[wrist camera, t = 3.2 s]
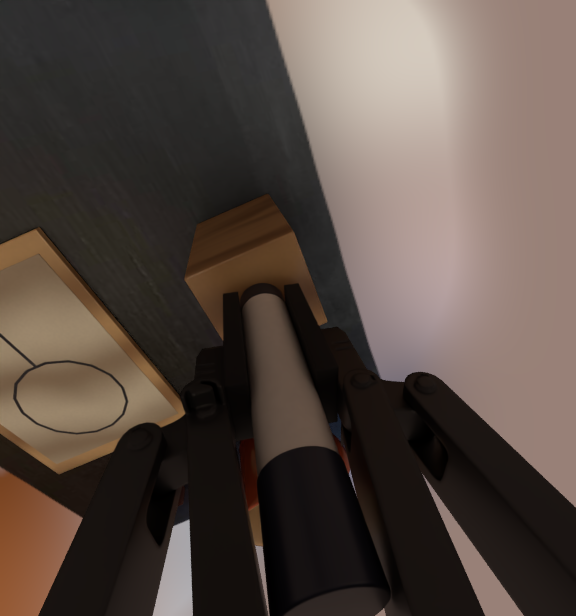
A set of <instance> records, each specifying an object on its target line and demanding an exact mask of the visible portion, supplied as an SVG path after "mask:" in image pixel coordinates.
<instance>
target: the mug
mask: <svg viewBox="0 0 576 616" xmlns="http://www.w3.org/2000/svg"><path fill="white" fill-rule="evenodd" d="M332 435H333V438H334V440H335V443H336V446H337V449H338V451H339V454H340V456H341V457H342V459H343V460H344V463H345V466H346V468H347V471H348V474H349V471H350V466H349V462H348V457H347V453H346V449H345V448H344V446H343V445H342V446H341V441H340V440H339V439H338V438H337V437H336V436H335V435H334V434H333V433H332ZM239 453H240V463H241V474H242V479H243V485H244V490H245V495H246V500H247V506H248V511H249V516H250V521H251V527H252V532H253V537H254V543H255V545H256V546H263V543H262V533H261V523H260V513H259V503H258V493H257V479H258V474H257V465H256V455H255V446H254V438H250V439H245V440H240V447H239Z"/></svg>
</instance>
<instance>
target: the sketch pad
mask: <svg viewBox="0 0 576 616" xmlns="http://www.w3.org/2000/svg"><path fill="white" fill-rule="evenodd" d="M183 415H185V411H184V408H183V405H182V402H181V399H180V395H179V394H178V393H177V392H176V391H175V389H174V388H173V387H172V386H171V385H170V383H169V382H168V381H167V380H166V379H165V377H164V376H163V375H162V374H161V373H160V371H159V370H158V369H157V368H156V367H155V365H154V364H153V363H152V362H151V361H150V359H149V358H148V357H147V356H146V355H145V353H144V352H143V351H142V350H141V349H140V347H139V346H138V345H137V344H136V343H135V341H134V340H133V339H132V338H131V337H130V335H129V334H128V333H127V332H126V331H125V329H124V328H123V327H122V326H121V325H120V323H119V322H118V321H117V320H116V319H115V317H114V316H113V315H112V314H111V313H110V311H109V310H108V309H107V308H106V307H105V305H104V304H103V303H102V302H101V301H100V299H99V298H98V297H97V296H96V295H95V293H94V292H93V291H92V290H91V289H90V287H89V286H88V285H87V284H86V283H85V281H84V280H83V279H82V278H81V277H80V275H79V274H78V273H77V272H76V270H75V269H74V268H73V267H72V266H71V264H70V263H69V262H68V261H67V260H66V258H65V257H64V256H63V255H62V254H61V252H60V251H59V250H58V249H57V248H56V246H55V245H54V244H53V243H52V242H51V240H50V239H49V238H48V237H47V236H46V234H45V233H44V232H43V231H42V230H41V228H40V227H38V228H36V229H33V230H31V231H29V232H27V233H24V234H22V235H20V236H18V237H15V238H13V239H11V240H9V241H6V242H4V243H2V244H0V434H2V435H3V436H5V437H6V438H7V439H9V440H10V441H12V442H13V443H15V444H16V445H18V446H19V447H20V448H22V449H23V450H25V451H26V452H28V453H29V454H31V455H32V456H33V457H35V458H36V459H38V460H39V461H41V462H42V463H43V464H45V465H46V466H48V467H49V468H51V469H52V470H54V471H55V472H56V473H58V474H61V473H63V472H65V471H68V470H70V469H73V468H75V467H77V466H80V465H82V464H85V463H87V462H89V461H92V460H94V459H97V458H99V457H101V456H104V455H106V454H109V453H111V452H113V451H114V450H115V448H116V445H117V443H118V441H119V440H120V438H121V437H122V435H123V434H124V433H126V432H127V431H128V430H129V429H130V428H132V427H134V426H136V425H138V424H142V423H146V422H150V423H155V424H157V425H159V426H160V428H161V427H163V426H166V425H168V424H170V423H172V422H174V421H176V420H178V419H180V418H181V417H182V416H183Z"/></svg>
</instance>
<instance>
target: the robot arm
mask: <svg viewBox="0 0 576 616" xmlns="http://www.w3.org/2000/svg"><path fill="white" fill-rule="evenodd" d="M284 293H285V303H286V306H287V309H288V312H289V315H290V317H291V320H292V323H293V326H294V329H295V331H296V334H297V337H298V340H299V343H300V345H301V348H302V351H303V354H304V357H305V360H306V362H307V365H308V368H309V371H310V374H311V376H312V379H313V382H314V385H315V388H316V390H317V393H318V396H319V398H320V401H321V404H322V407H323V410H324V412H325V415H326V418H327V421H328V423H332V422H337V414H339V417H340V419H341V446H342V445H345V449H346V453H347V457H348V462H349V466H350V470H351V474H352V478H353V482H354V486H355V490H356V494H357V498H358V501H359V504H360V507H361V510H362V512H363V515H364V518H365V521H366V523H367V526H368V529H369V532H370V534H371V537H372V540H373V543H374V545H375V548H376V551H377V554H378V556H379V559H380V562H381V565H382V567H383V570H384V573H385V576H386V578H387V581H388V584H389V587H390V590H391V598H390V601H389V602H388V604H387V605H386V606H385V607H384V609H385V613H386V616H485V615H484V613H483V610H482V608H481V606H480V603H479V601H478V599H477V596H476V594H475V592H474V590H473V588H472V585H471V583H470V581H469V578H468V576H467V574H466V572H465V569H464V567H463V565H462V563H461V560H460V558H459V556H458V554H457V551H456V549H455V547H454V545H453V542H452V540H451V538H450V536H449V533H448V531H447V529H446V527H445V524H444V522H443V520H442V518H441V515H440V513H439V511H438V509H437V507H436V504H435V502H434V499H433V497H432V495H431V493H430V491H429V488H428V486H427V484H426V481H425V479H424V477H423V475H424V476H425V478H426V479H427V481H428V482H429V483H430V485H431V486H432V487H433V489H434V490H435V492H436V493H437V495H438V496H439V497H440V499H441V500H442V502H443V503H444V504H445V506H446V507H447V509H448V510H449V511H450V513H451V514H452V516H453V517H454V518H455V520H456V521H457V522H458V524H459V525H460V527H461V528H462V529H463V531H464V532H465V534H466V535H467V536H468V538H469V539H470V541H471V542H472V543H473V545H474V546H475V548H476V549H477V551H478V552H479V553H480V555H481V556H482V557H483V559H484V560H485V562H486V563H487V565H488V566H489V567H490V569H491V570H492V571H493V573H494V574H495V576H496V577H497V579H498V580H499V581H500V583H501V584H502V586H503V587H504V588H505V590H506V591H507V592H508V594H509V595H510V597H511V598H512V600H513V601H514V602H515V604H516V605H517V607H518V608H519V609H520V611H521V612H522V613H523V615H524V616H576V507H574V506H573V505H572V504H571V503H570V502H569V501H568V500H567V499H566V498H565V497H564V496H563V495H562V494H561V493H560V492H559V491H558V490H557V489H556V488H554V487H553V486H552V485H551V484H550V483H549V482H548V481H547V480H546V479H545V478H544V477H543V476H542V475H541V474H540V473H539V472H538V471H537V470H536V469H534V468H533V467H532V466H531V465H530V464H529V463H528V462H527V461H526V460H525V459H524V458H523V457H522V456H521V455H520V454H519V453H518V452H516V450H514V449H513V448H512V447H511V446H510V445H509V444H508V443H507V442H506V441H505V440H504V439H503V438H502V437H501V436H500V435H499V434H498V433H497V432H496V431H495V430H493V429H492V428H491V427H490V426H489V425H488V424H487V423H486V422H485V421H484V420H483V419H482V418H481V417H480V416H479V415H478V414H477V413H476V412H475V411H473V410H472V409H471V408H470V407H469V406H468V405H467V404H466V403H465V402H464V401H463V400H462V399H461V398H460V397H459V396H458V395H457V394H455V392H453V391H452V390H451V389H450V388H449V387H448V386H447V385H446V384H445V383H444V382H443V381H442V380H440V379H439V378H438V377H436V376H434V375H432V374H429V373H425V372H415V373H412V374H410V375H408V376H407V377H406V379H405V382H394V381H386V380H382V379H380V378H379V377H378V376H377V374H375V373H374V372H372V371H370V370H367V368H366V367H365V365H364V363H363V362H362V360H361V358H360V357H359V355H358V353H357V352H356V350H355V348H354V347H353V345H352V343H351V341H350V340H349V338H348V336H347V335H346V333H345V332H344V331H342V330H341V329H339V328H338V327H333V328H326V329H320V327H319V325H318V323H317V321H316V319H315V317H314V314H313V312H312V310H311V308H310V306H309V304H308V302H307V300H306V298H305V296H304V294H303V292H302V289H301V287H300V285H299V283H295V284H288V285H284ZM180 399H181V402H182V405H183V408H184V411H185V415H183V416H182V417H181V418H180V419H178V420H176V421H174V422H172V423H170V424H168V425H166V426H163V427H161V428H160V426H159V425H157V424H155V423H150V422H146V423H142V424H138V425H136V426H134V427H132V428H130V429H129V430H128V431H127V432H126V433H124V434H123V435H122V437H121V438H120V440H119V441H118V443H117V445H116V448H115V450H114V452H113V454H112V456H111V458H110V461H109V463H108V465H107V467H106V469H105V471H104V474H103V476H102V478H101V480H100V482H99V485H98V487H97V489H96V491H95V493H94V495H93V498H92V500H91V502H90V504H89V506H88V509H87V511H86V513H85V515H84V517H83V519H82V522H81V524H80V526H79V528H78V530H77V532H76V535H75V537H74V539H73V541H72V543H71V546H70V548H69V550H68V552H67V554H66V556H65V559H64V561H63V563H62V565H61V567H60V570H59V572H58V574H57V576H56V578H55V581H54V583H53V585H52V587H51V589H50V591H49V593H48V596H47V598H46V600H45V602H44V604H43V607H42V609H41V611H40V613H39V615H38V616H152V615H153V611H154V607H155V602H156V598H157V594H158V589H159V585H160V581H161V576H162V572H163V567H164V563H165V559H166V554H167V550H168V546H169V541H170V537H171V533H172V528H173V524H174V519H175V515H176V511H177V506H178V502H179V498H180V493H181V489H182V486H183V485H185V484H187V483H188V489H189V516H190V542H191V543H190V544H191V569H192V570H191V571H192V598H193V616H268V611H267V606H266V601H265V595H264V590H263V585H262V579H261V574H260V569H259V564H258V558H257V553H256V549H255V543H254V537H253V532H252V527H251V521H250V516H249V511H248V506H247V500H246V495H245V490H244V485H243V479H242V474H241V469H240V464H239V458H238V453H237V449H236V444H235V438H236V441H240V440H245V439H250V438H254V436H253V427H252V417H251V399H250V389H249V380H248V371H247V362H246V352H245V343H244V334H243V324H242V315H241V307H240V301H239V295H238V292H231V293H224V294H223V346H218V347H212V348H205V349H202V350H201V352H200V353H199V355H198V356H197V358H196V368H195V378H194V380H193V381H191V382H190V383H189V384H187V385H186V386H185V387H184V388H183V390H182V391H181V394H180ZM422 474H423V475H422Z"/></svg>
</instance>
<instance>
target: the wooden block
mask: <svg viewBox="0 0 576 616" xmlns="http://www.w3.org/2000/svg"><path fill="white" fill-rule="evenodd" d="M184 279H185V281H186V283H187V284H188V286H189V287H190V289H191V291H192V292H193V294H194V295H195V297H196V299H197V300H198V302H199V303H200V305H201V306H202V308H203V310H204V311H205V313H206V314H207V316H208V318H209V319H210V321H211V322H212V324H213V326H214V327H215V329H216V330H217V332H218V333H219V335H220V337H221V338H222V340H223V294H224V293H231V292H238V295H239V301H240V298H241V296H242V294H243V293H244V291H245V290H246V289H247V288H249V287H250V286H252V285H254V284H258V283H268V284H271V285H274V286H275V287H277V288H278V289H279V290H280V291H281V293H282V295H283V298H284V301H285V293H284V285H288V284H295V283H299V285H300V287H301V289H302V292H303V294H304V296H305V298H306V300H307V302H308V304H309V306H310V308H311V310H312V312H313V314H314V317H315V319H316V321H317V323H318V325H322V324H324V323H326V322H327V319H326V316H325V313H324V311H323V308H322V305H321V303H320V300H319V297H318V295H317V292H316V289H315V287H314V284H313V281H312V279H311V276H310V273H309V271H308V268H307V265H306V263H305V260H304V257H303V255H302V252H301V249H300V247H299V244H298V241H297V239H296V236H295V233H294V231H293V230H292V228H291V227H290V225H289V224H288V222H287V221H286V219H285V218H284V216H283V215H282V213H281V212H280V210H279V209H278V207H277V206H276V204H275V203H274V201H273V200H272V198H271V197H270V195H269V194H266V195H263V196H261V197H259V198H256V199H254V200H252V201H250V202H247V203H245V204H243V205H240V206H238V207H236V208H234V209H231V210H229V211H227V212H224V213H222V214H220V215H218V216H215V217H213V218H211V219H208V220H206V221H204V222H202V223H199V224H197V227H196V231H195V235H194V239H193V244H192V248H191V252H190V256H189V261H188V265H187V269H186V273H185V278H184Z"/></svg>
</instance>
